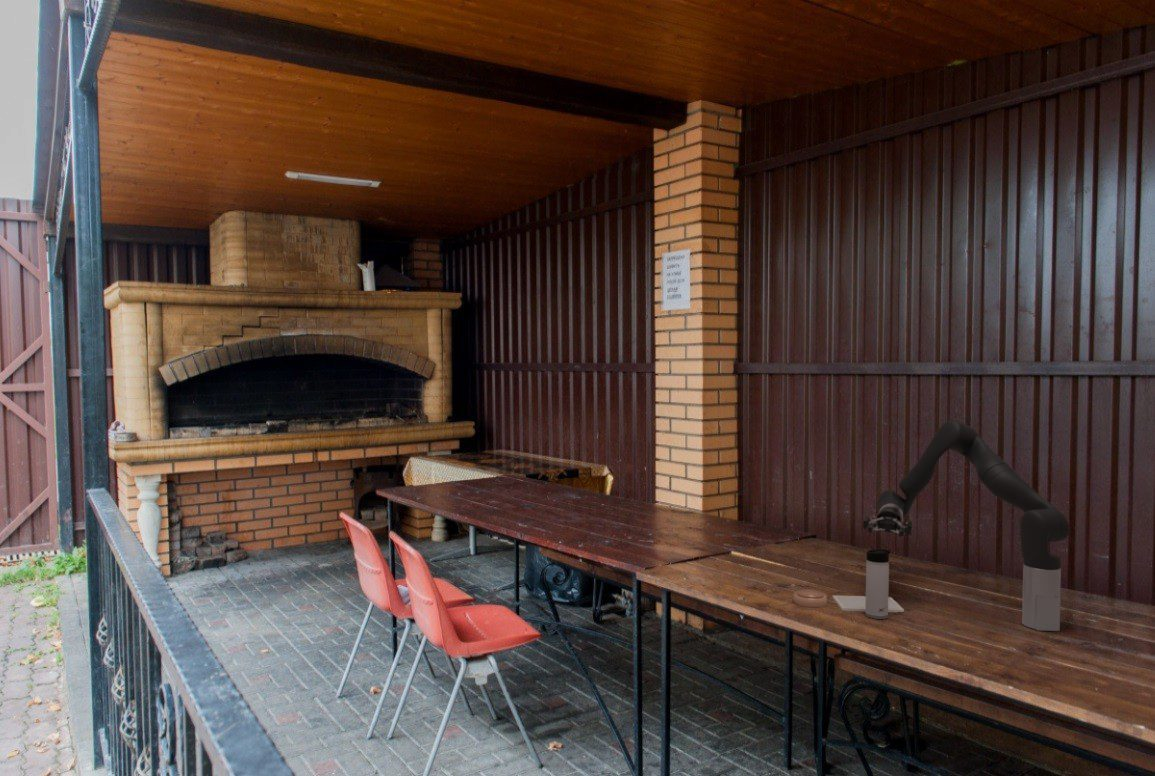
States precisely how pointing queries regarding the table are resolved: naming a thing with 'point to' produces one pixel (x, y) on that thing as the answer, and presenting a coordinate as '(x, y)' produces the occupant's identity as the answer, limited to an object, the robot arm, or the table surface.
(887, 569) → the travel mug
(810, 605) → the tan round domed disc
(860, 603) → the tile
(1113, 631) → the table surface
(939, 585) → the table surface
